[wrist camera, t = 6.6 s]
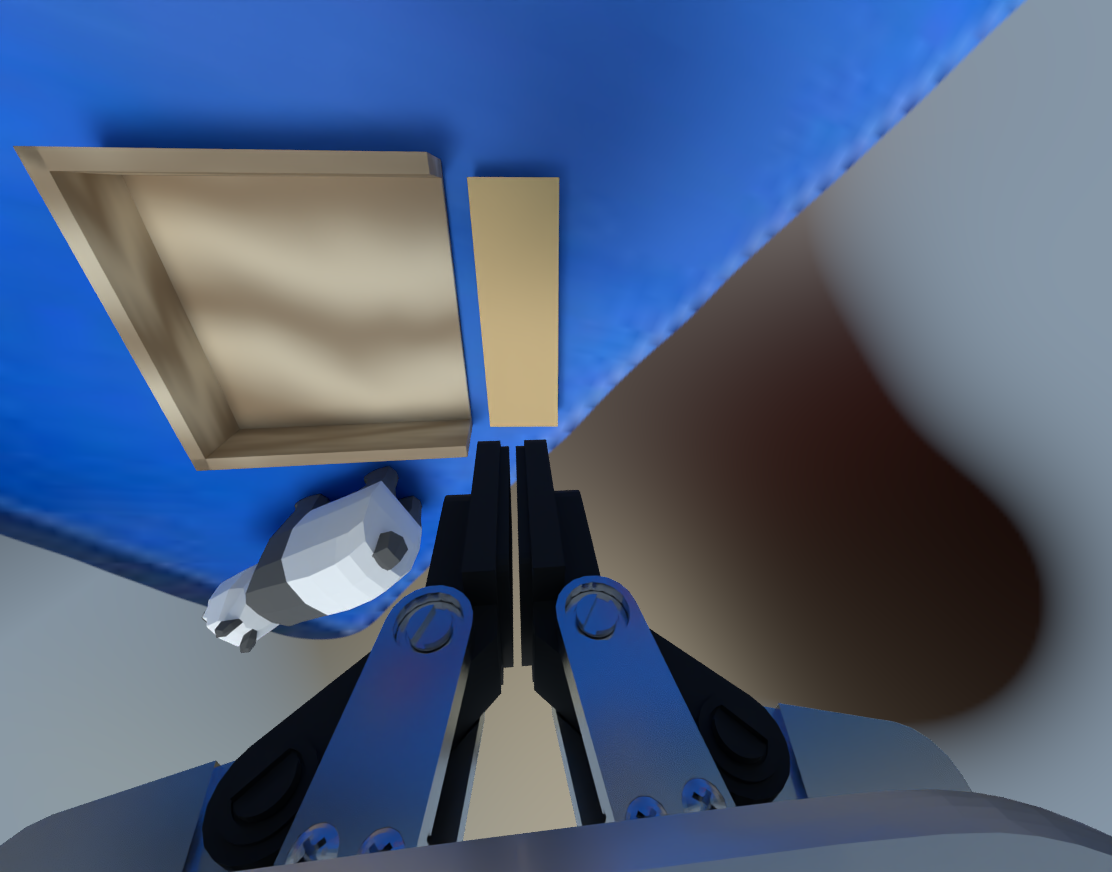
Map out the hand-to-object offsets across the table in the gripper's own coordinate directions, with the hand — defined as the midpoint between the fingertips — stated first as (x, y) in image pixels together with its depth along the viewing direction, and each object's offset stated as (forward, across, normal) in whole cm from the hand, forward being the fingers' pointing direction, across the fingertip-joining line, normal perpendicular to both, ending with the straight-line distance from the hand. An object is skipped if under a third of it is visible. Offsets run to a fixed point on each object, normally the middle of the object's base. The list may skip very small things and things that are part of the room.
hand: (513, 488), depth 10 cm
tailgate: (+16, +2, 0) cm, 17 cm away
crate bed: (+17, +11, 0) cm, 20 cm away
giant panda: (+17, +13, +15) cm, 26 cm away
